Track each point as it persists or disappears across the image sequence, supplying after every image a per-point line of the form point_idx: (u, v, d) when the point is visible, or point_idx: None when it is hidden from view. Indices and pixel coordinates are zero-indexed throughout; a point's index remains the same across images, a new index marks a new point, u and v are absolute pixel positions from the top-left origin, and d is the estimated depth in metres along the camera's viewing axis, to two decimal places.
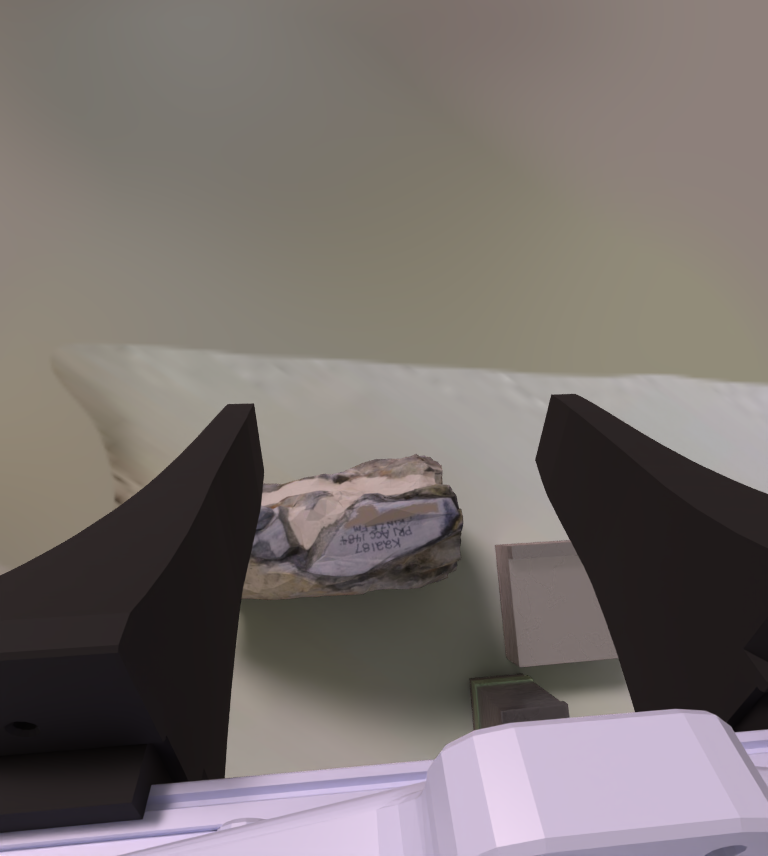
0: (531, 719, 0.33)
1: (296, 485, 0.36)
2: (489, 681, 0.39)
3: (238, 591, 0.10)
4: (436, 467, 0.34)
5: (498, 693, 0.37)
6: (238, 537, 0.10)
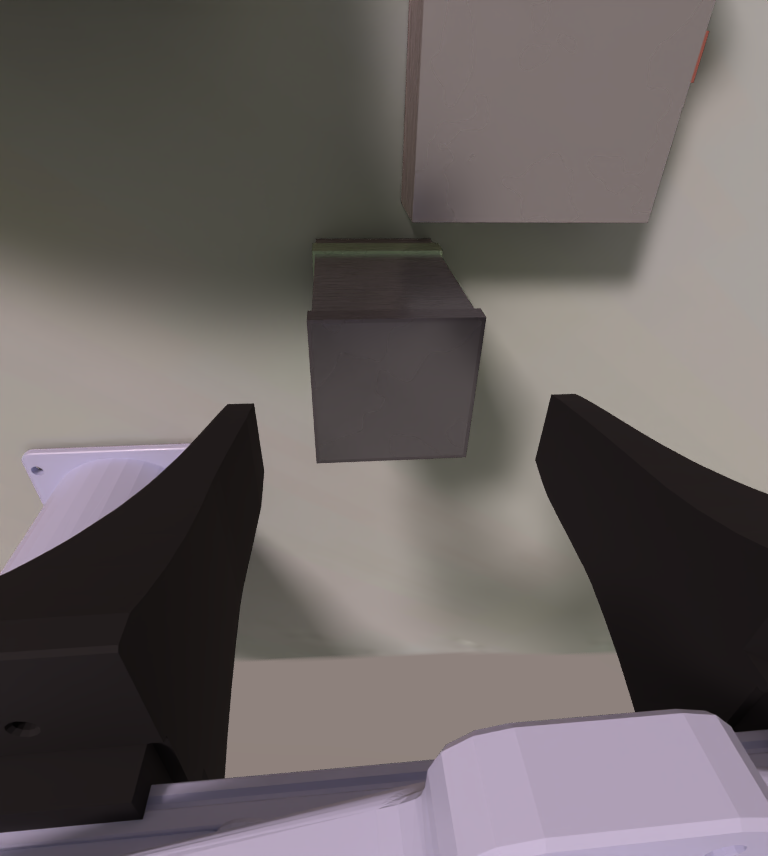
0: (387, 344, 0.13)
1: None
2: (348, 247, 0.18)
3: (238, 591, 0.10)
4: None
5: (346, 275, 0.16)
6: (238, 537, 0.10)
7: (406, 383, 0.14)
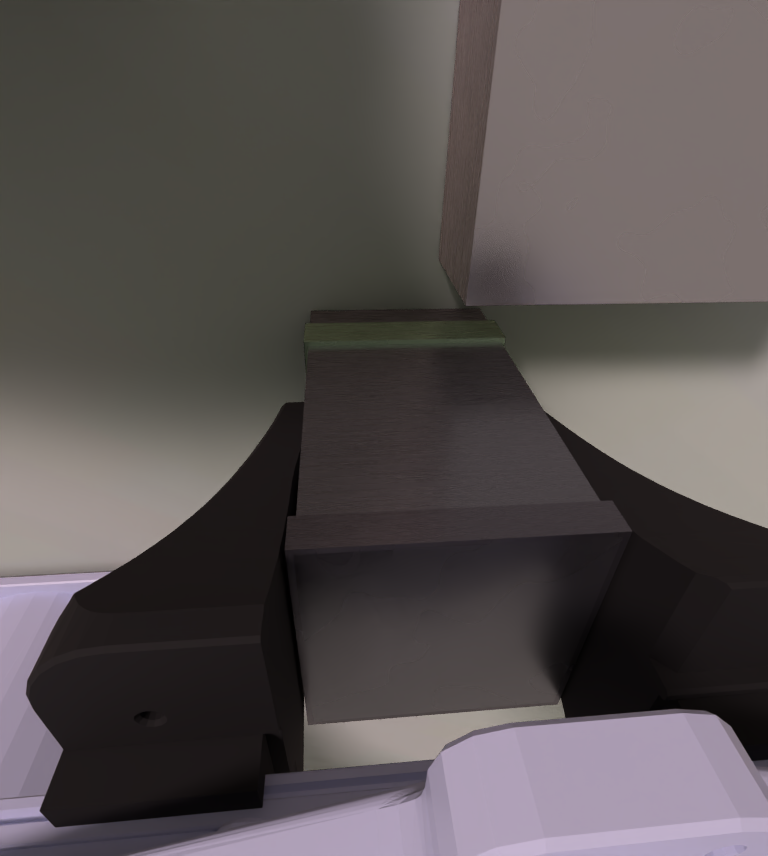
0: (439, 576, 0.07)
1: None
2: (360, 333, 0.12)
3: None
4: None
5: (359, 399, 0.10)
6: None
7: (469, 625, 0.08)
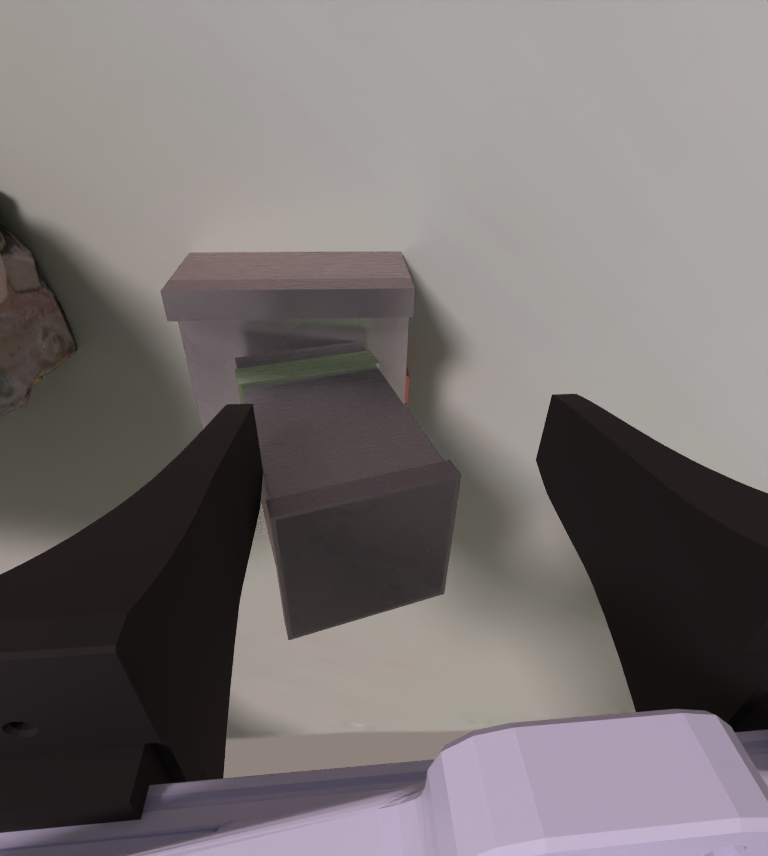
0: (360, 519, 0.12)
1: None
2: (277, 372, 0.16)
3: (237, 591, 0.10)
4: None
5: (289, 421, 0.14)
6: (237, 537, 0.10)
7: (382, 548, 0.13)
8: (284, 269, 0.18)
